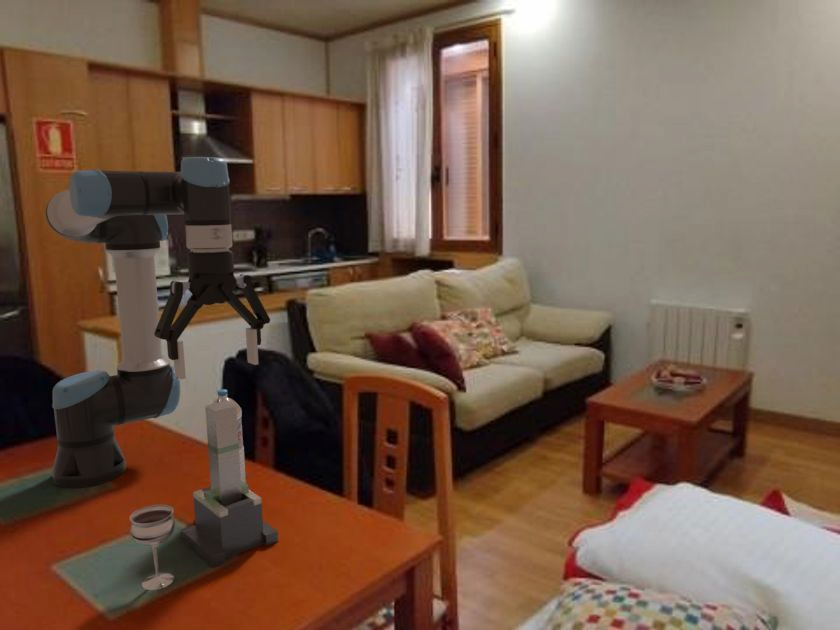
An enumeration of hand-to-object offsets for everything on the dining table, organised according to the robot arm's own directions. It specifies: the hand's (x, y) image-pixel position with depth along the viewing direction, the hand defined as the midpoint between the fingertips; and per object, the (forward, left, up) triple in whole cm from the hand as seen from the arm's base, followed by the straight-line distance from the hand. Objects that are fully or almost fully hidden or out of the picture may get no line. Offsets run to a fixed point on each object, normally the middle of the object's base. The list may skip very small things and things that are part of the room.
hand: (218, 370), depth 115 cm
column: (0, 0, -27) cm, 27 cm away
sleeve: (0, 0, -33) cm, 33 cm away
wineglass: (+4, -15, -33) cm, 36 cm away
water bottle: (-12, +6, -33) cm, 35 cm away
